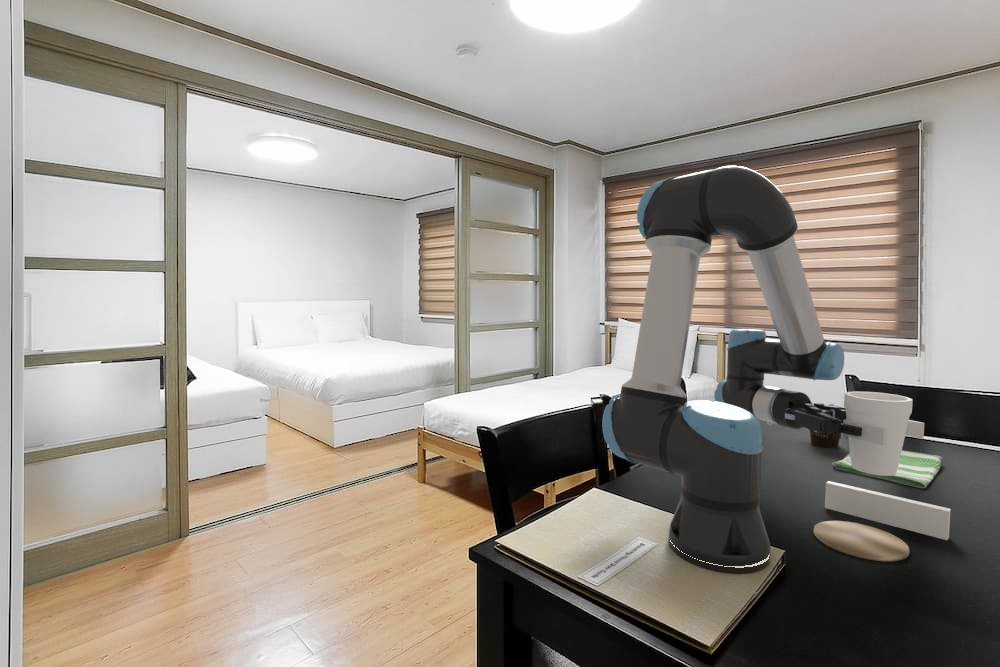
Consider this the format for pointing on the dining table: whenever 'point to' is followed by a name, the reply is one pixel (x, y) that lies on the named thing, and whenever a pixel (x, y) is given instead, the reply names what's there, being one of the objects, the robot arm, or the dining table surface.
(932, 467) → the dish towel
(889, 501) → the low wall
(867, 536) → the cork coaster
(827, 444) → the coffee mug
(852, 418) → the foam cup
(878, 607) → the dining table surface
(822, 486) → the dining table surface
